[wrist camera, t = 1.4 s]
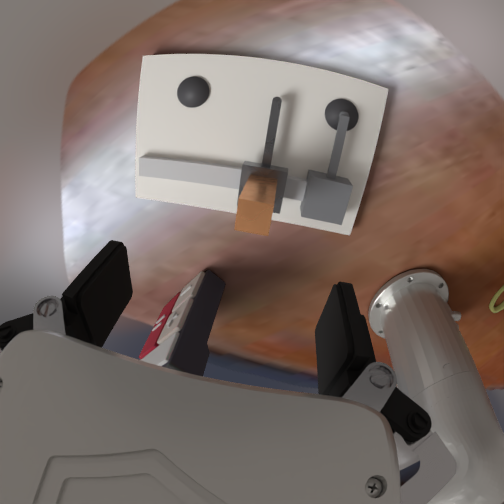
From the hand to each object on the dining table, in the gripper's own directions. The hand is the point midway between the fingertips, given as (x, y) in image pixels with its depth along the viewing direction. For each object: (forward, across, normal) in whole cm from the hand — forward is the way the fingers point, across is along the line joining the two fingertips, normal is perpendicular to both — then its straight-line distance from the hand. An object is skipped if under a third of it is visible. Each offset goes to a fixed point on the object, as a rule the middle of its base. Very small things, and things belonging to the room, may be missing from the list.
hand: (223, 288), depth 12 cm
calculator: (+19, +6, +18) cm, 27 cm away
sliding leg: (+17, -1, -3) cm, 17 cm away
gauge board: (+19, +1, -4) cm, 19 cm away
